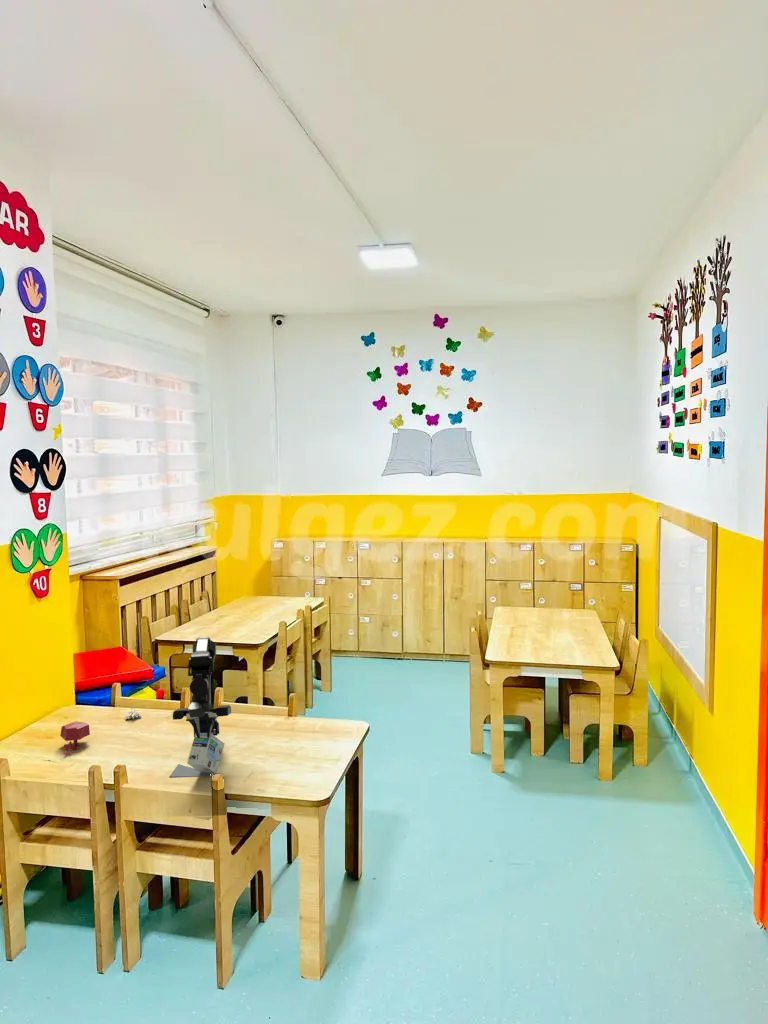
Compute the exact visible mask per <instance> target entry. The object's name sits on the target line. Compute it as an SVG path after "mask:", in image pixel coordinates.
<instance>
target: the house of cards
mask: <svg viewBox="0 0 768 1024" xmlns="http://www.w3.org/2000/svg"><path fill="white" fill-rule="evenodd" d="M130 709H131V710H132V709H136V707H135V705H134V703H132V705H131V706H130ZM131 718H132V720H135V719H136V718H137V719H140V718H141V715H140V713H139V712H138V710H134V711H127V714H126V715H125V716H124V721H126V720H129V721H130V720H131Z"/></svg>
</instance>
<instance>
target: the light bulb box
mask: <svg viewBox="0 0 768 1024" xmlns="http://www.w3.org/2000/svg"><path fill="white" fill-rule="evenodd" d="M193 737H194V736H193ZM224 746H225V742H223V741H222V740H221V739H219V738H218V737H216V735H215V736H214V735H213V734H210V736H209V738H207V733H200V738H199V739H198V738H197V735H196V733H195V737H194V738H193V741H192V744H191V747H190V752H189V755H188V759H187V762H186V764H188V766H189V767H191V768H194V769H196V770H198V771H199V772H201V773H211V774H214V773H218V770H219V766H220V762H221V758H222V755H223V752H224ZM214 775H215V774H214Z"/></svg>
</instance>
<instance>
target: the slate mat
mask: <svg viewBox="0 0 768 1024" xmlns="http://www.w3.org/2000/svg"><path fill="white" fill-rule="evenodd" d="M210 774H211V775H212V774H213V773H201V772H199V771H198V770H196V769H195V768H193V767H192V766H188V765H183V764H180V763H178V764H177V765H176V766H175V768H174V769H173V771H172V772H171V774H170V775H169V778H192V777H193V778H197V777H198V778H199V777H211V776H210Z"/></svg>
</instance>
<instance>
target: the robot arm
mask: <svg viewBox="0 0 768 1024" xmlns="http://www.w3.org/2000/svg"><path fill="white" fill-rule="evenodd" d="M195 639H196V640H195V641H194V642H193V644H192V652H191V655H190V657H189V658H188V664H187V665H188V668H187V676H188V677H192V678H191V682H190V683H189V690H190V693H191V695H192V696H191V703H190V704H189V706H188V707H182V708H176V709H175V710H174V711H173V712H172V720H174V721H176V720H182V719H184V717H186V718H185V721H186V722H189V723H190V725H191V726H192V728H193V737H195V733H196V735H197V738H198V739H199V738H200V733H207V738H209V736H210V734H213V735H214V736H215V737H216V736H218V735H220V723H219V721H218V718H219V717H227V716H229V715H230V714H232V706H231V705H230V704H226V705H225V704H223V705H218V706H217V707H215V708H212V701H211V700H212V697H211V695H212V694H211V692H212V691H211V685H212V684H211V675H213V674H212V673H213V672H214V664H215V663H214V662H215V657H216V656H217V646H216V645H217V644H216V643H217V642H215V641H213V640H211V637H209V636H200V637H198V638H195Z"/></svg>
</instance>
